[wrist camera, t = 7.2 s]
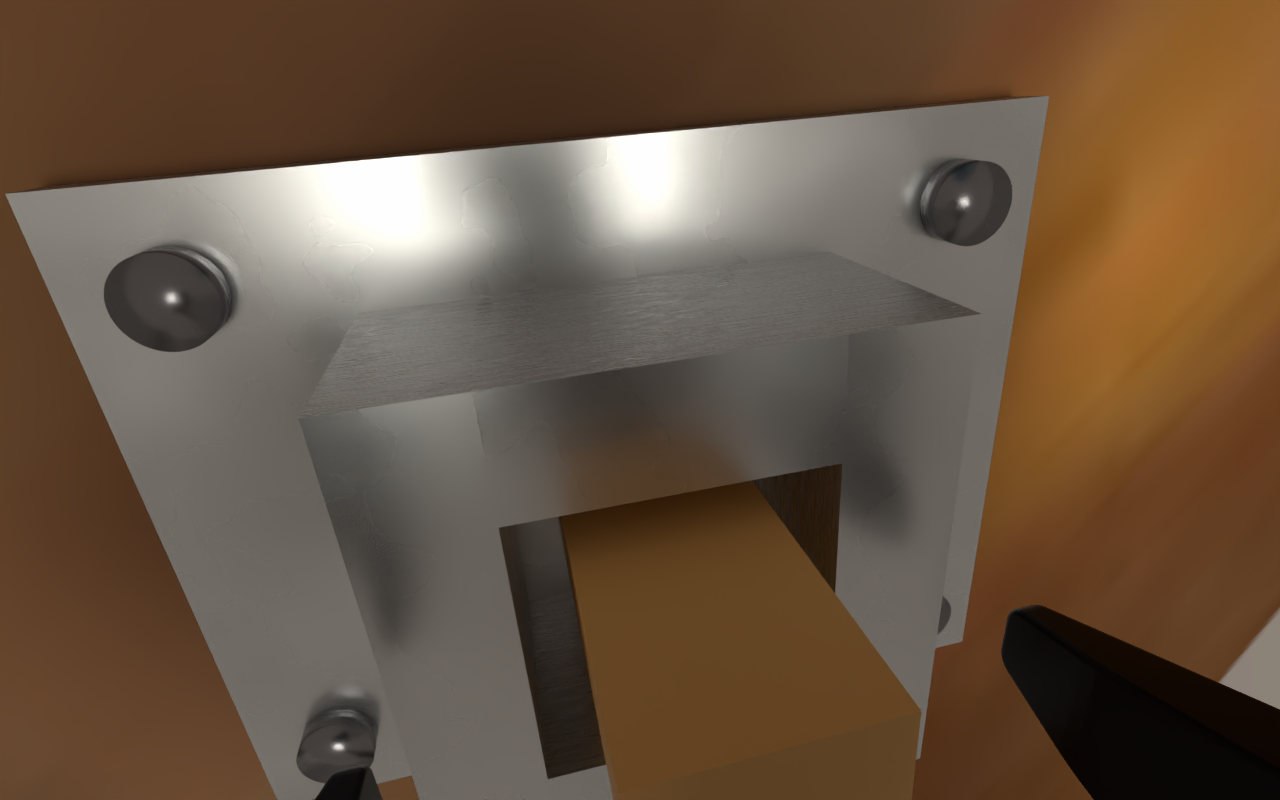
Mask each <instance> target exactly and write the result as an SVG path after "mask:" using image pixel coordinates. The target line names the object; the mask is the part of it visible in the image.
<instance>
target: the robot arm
mask: <svg viewBox="0 0 1280 800" xmlns="http://www.w3.org/2000/svg"><path fill="white" fill-rule="evenodd" d="M1001 653H1002V659H1003V663H1004V665H1005V667H1006V669H1007V671H1008V673H1009V674H1010V676H1011V677H1012V679H1013V680H1014V682H1015V684H1016V685H1017V687H1018V688H1019V690H1020V691H1021V693H1022V694H1023V696H1024V698H1025V699H1026V701H1027V702H1028V704H1029V705H1030V707H1031V709H1032V710H1033V712H1034V713H1035V715H1036V716H1037V718H1038V720H1039V721H1040V723H1041V724H1042V726H1043V727H1044V729H1045V730H1046V732H1047V734H1048V735H1049V737H1050V738H1051V740H1052V741H1053V743H1054V745H1055V746H1056V748H1057V749H1058V751H1059V752H1060V754H1061V755H1062V757H1063V758H1064V760H1065V761H1066V763H1067V764H1068V766H1069V767H1070V769H1071V770H1072V771H1073V773H1074V774H1075V775H1076V777H1077V778H1078V779H1079V781H1080V782H1081V783H1082V785H1083V786H1084V787H1085V789H1086V790H1087V791H1088V793H1089V794H1090V795H1091V797H1092V798H1093V799H1094V800H1280V709H1277V708H1275V707H1273V706H1270V705H1268V704H1266V703H1264V702H1261V701H1259V700H1257V699H1255V698H1252V697H1250V696H1248V695H1245V694H1243V693H1241V692H1238V691H1236V690H1234V689H1232V688H1229V687H1227V686H1225V685H1223V684H1220V683H1218V682H1216V681H1213V680H1211V679H1209V678H1207V677H1204V676H1202V675H1200V674H1197V673H1195V672H1193V671H1191V670H1188V669H1186V668H1184V667H1181V666H1179V665H1177V664H1175V663H1172V662H1170V661H1168V660H1165V659H1163V658H1161V657H1159V656H1156V655H1154V654H1152V653H1149V652H1147V651H1145V650H1143V649H1140V648H1138V647H1136V646H1133V645H1131V644H1129V643H1127V642H1124V641H1122V640H1120V639H1117V638H1115V637H1113V636H1111V635H1108V634H1106V633H1104V632H1101V631H1099V630H1097V629H1095V628H1092V627H1090V626H1088V625H1085V624H1083V623H1081V622H1079V621H1076V620H1074V619H1072V618H1069V617H1067V616H1065V615H1063V614H1060V613H1058V612H1056V611H1053V610H1051V609H1049V608H1047V607H1044V606H1041V605H1030V606H1026V607H1022V608H1018V609H1014V610H1012V611H1011V612H1010V613H1009V615H1008V618H1007V623H1006V629H1005V634H1004V639H1003V644H1002V650H1001ZM315 800H382V797H381V794H380V791H379V788H378V786H377V783H376V780H375V777H374V774H373V772H372V769H371V768H370V767H369V766H368V765H359V766H354V767H350V768H346V769H342V770H339V771H336V772H335V773H333V774H332V775H331V776H330V778H329V779H328V780H327V782H326V783H325V785H324V786H323V788H322V789H321V791H320V792H319V794H318V795H317V797H316V798H315Z"/></svg>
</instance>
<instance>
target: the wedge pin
mask: <svg viewBox="0 0 1280 800" xmlns="http://www.w3.org/2000/svg"><path fill="white" fill-rule="evenodd" d="M559 523H560V528H561V534H562V540H563V546H564V551H565V557H566V563H567V568H568V573H569V578H570V583H571V588H572V593H573V598H574V603H575V608H576V613H577V619H578V624H579V629H580V634H581V639H582V644H583V649H584V654H585V659H586V664H587V669H588V674H589V680H590V685H591V690H592V695H593V700H594V705H595V710H596V715H597V720H598V725H599V730H600V735H601V741H602V746H603V751H604V756H605V761H606V766H607V771H608V776H609V781H610V786H611V791H612V796H613V800H912V792H913V783H914V774H915V765H916V756H917V747H918V738H919V729H920V720H921V710H920V708H919V707H918V706H917V704H916V703H915V702H914V700H913V699H912V697H911V696H910V695H909V693H908V692H907V691H906V689H905V688H904V687H903V685H902V684H901V683H900V681H899V680H898V678H897V677H896V676H895V674H894V673H893V672H892V670H891V669H890V668H889V666H888V665H887V663H886V662H885V661H884V659H883V658H882V657H881V655H880V654H879V653H878V651H877V650H876V649H875V647H874V646H873V644H872V643H871V642H870V640H869V639H868V638H867V636H866V635H865V634H864V632H863V631H862V630H861V628H860V627H859V625H858V624H857V623H856V621H855V620H854V619H853V617H852V616H851V615H850V613H849V612H848V611H847V609H846V608H845V606H844V605H843V604H842V602H841V601H840V600H839V598H838V597H837V596H836V594H835V593H834V591H833V590H832V589H831V587H830V586H829V585H828V583H827V582H826V581H825V579H824V578H823V577H822V575H821V574H820V572H819V571H818V570H817V568H816V567H815V566H814V564H813V563H812V562H811V560H810V559H809V558H808V556H807V555H806V553H805V552H804V551H803V549H802V548H801V547H800V545H799V544H798V543H797V541H796V540H795V538H794V537H793V536H792V534H791V533H790V532H789V530H788V529H787V528H786V526H785V525H784V524H783V522H782V521H781V519H780V518H779V517H778V515H777V514H776V513H775V511H774V510H773V509H772V507H771V506H770V505H769V503H768V502H767V500H766V499H765V498H764V496H763V495H762V494H761V492H760V491H759V490H758V488H757V487H756V486H755V484H754V483H753V481H752V480H751V481H746V482H740V483H735V484H729V485H724V486H719V487H713V488H708V489H703V490H697V491H692V492H687V493H681V494H676V495H671V496H665V497H660V498H655V499H649V500H644V501H639V502H633V503H628V504H623V505H617V506H612V507H607V508H601V509H596V510H591V511H585V512H580V513H575V514H569V515H564V516H559Z"/></svg>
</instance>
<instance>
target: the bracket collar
mask: <svg viewBox="0 0 1280 800" xmlns="http://www.w3.org/2000/svg"><path fill="white" fill-rule="evenodd" d="M1048 101H1049V96H1014V97H1002V98H992V99H981V100H970V101H959V102H949V103H938V104H927V105H916V106H906V107H895V108H884V109H874V110H863V111H852V112H841V113H831V114H820V115H809V116H798V117H788V118H777V119H766V120H756V121H745V122H734V123H723V124H713V125H702V126H691V127H680V128H670V129H659V130H648V131H637V132H627V133H616V134H605V135H595V136H584V137H573V138H562V139H552V140H541V141H530V142H519V143H509V144H498V145H487V146H476V147H466V148H455V149H444V150H434V151H423V152H412V153H401V154H391V155H380V156H369V157H358V158H348V159H337V160H326V161H316V162H305V163H294V164H283V165H273V166H262V167H251V168H240V169H230V170H219V171H208V172H197V173H187V174H176V175H165V176H155V177H144V178H133V179H122V180H112V181H101V182H90V183H79V184H69V185H58V186H47V187H40V188H35V189H29V190H24V191H18V192H13V193H7V194H5V195H6V197H7V199H8V201H9V204H10V206H11V208H12V210H13V212H14V215H15V217H16V219H17V221H18V224H19V226H20V228H21V230H22V232H23V235H24V237H25V239H26V241H27V244H28V246H29V248H30V250H31V252H32V255H33V257H34V259H35V261H36V264H37V266H38V268H39V270H40V273H41V275H42V277H43V279H44V281H45V284H46V286H47V288H48V290H49V293H50V295H51V297H52V299H53V301H54V304H55V306H56V308H57V310H58V313H59V315H60V317H61V319H62V321H63V324H64V326H65V328H66V330H67V333H68V335H69V337H70V339H71V342H72V344H73V346H74V348H75V350H76V353H77V355H78V357H79V359H80V362H81V364H82V366H83V368H84V370H85V373H86V375H87V377H88V379H89V382H90V384H91V386H92V388H93V391H94V393H95V395H96V397H97V399H98V402H99V404H100V406H101V408H102V411H103V413H104V415H105V417H106V419H107V422H108V424H109V426H110V428H111V431H112V433H113V435H114V437H115V439H116V442H117V444H118V446H119V448H120V451H121V453H122V455H123V457H124V460H125V462H126V464H127V466H128V468H129V471H130V473H131V475H132V477H133V480H134V482H135V484H136V486H137V488H138V491H139V493H140V495H141V497H142V500H143V502H144V504H145V506H146V509H147V511H148V513H149V515H150V517H151V520H152V522H153V524H154V526H155V529H156V531H157V533H158V535H159V537H160V540H161V542H162V544H163V546H164V549H165V551H166V553H167V555H168V557H169V560H170V562H171V564H172V566H173V569H174V571H175V573H176V575H177V578H178V580H179V582H180V584H181V586H182V589H183V591H184V593H185V595H186V598H187V600H188V602H189V604H190V606H191V609H192V611H193V613H194V615H195V618H196V620H197V622H198V624H199V627H200V629H201V631H202V633H203V635H204V638H205V640H206V642H207V644H208V647H209V649H210V651H211V653H212V655H213V658H214V660H215V662H216V664H217V667H218V669H219V671H220V673H221V675H222V678H223V680H224V682H225V684H226V687H227V689H228V691H229V693H230V696H231V698H232V700H233V702H234V704H235V707H236V709H237V711H238V713H239V716H240V718H241V720H242V722H243V724H244V727H245V729H246V731H247V733H248V736H249V738H250V740H251V742H252V745H253V747H254V749H255V751H256V753H257V756H258V758H259V760H260V762H261V765H262V767H263V769H264V771H265V773H266V776H267V778H268V780H269V782H270V785H271V787H272V789H273V791H274V793H275V796H276V798H277V800H312V799H315V798H316V797H317V795H318V794H319V792H320V791H321V789H322V788H323V786H324V785H325V783H326V782H327V780H328V779H329V778H330V776H331V775H332V774H333V773H335V772H336V771H339V770H342V769H346V768H350V767H354V766H359V765H368V766H369V767H370V768H371V769H372V772H373V774H374V777H375V780H376V783H377V784H378V783H382V782H386V781H390V780H394V779H399V778H403V777H407V776H411V775H412V777H413V781H414V784H415V787H416V790H417V793H418V796H419V799H420V800H613V796H612V791H611V786H610V781H609V776H608V771H607V766H606V761H605V756H604V751H603V746H602V741H601V735H600V730H599V725H598V720H597V715H596V710H595V705H594V700H593V695H592V690H591V685H590V680H589V674H588V669H587V664H586V659H585V654H584V649H583V644H582V639H581V634H580V629H579V624H578V619H577V613H576V608H575V603H574V598H573V593H572V588H571V583H570V578H569V573H568V568H567V563H566V557H565V551H564V546H563V540H562V534H561V528H560V523H559V516H564V515H569V514H575V513H580V512H585V511H591V510H596V509H601V508H607V507H612V506H617V505H623V504H628V503H633V502H639V501H644V500H649V499H655V498H660V497H665V496H671V495H676V494H681V493H687V492H692V491H697V490H703V489H708V488H713V487H719V486H724V485H729V484H735V483H740V482H746V481H751V480H752V481H753V483H754V484H755V486H756V487H757V488H758V490H759V491H760V492H761V494H762V495H763V496H764V498H765V499H766V500H767V502H768V503H769V505H770V506H771V507H772V509H773V510H774V511H775V513H776V514H777V515H778V517H779V518H780V519H781V521H782V522H783V524H784V525H785V526H786V528H787V529H788V530H789V532H790V533H791V534H792V536H793V537H794V538H795V540H796V541H797V543H798V544H799V545H800V547H801V548H802V549H803V551H804V552H805V553H806V555H807V556H808V558H809V559H810V560H811V562H812V563H813V564H814V566H815V567H816V568H817V570H818V571H819V572H820V574H821V575H822V577H823V578H824V579H825V581H826V582H827V583H828V585H829V586H830V587H831V589H832V590H833V591H834V593H835V594H836V596H837V597H838V598H839V600H840V601H841V602H842V604H843V605H844V606H845V608H846V609H847V611H848V612H849V613H850V615H851V616H852V617H853V619H854V620H855V621H856V623H857V624H858V625H859V627H860V628H861V630H862V631H863V632H864V634H865V635H866V636H867V638H868V639H869V640H870V642H871V643H872V644H873V646H874V647H875V649H876V650H877V651H878V653H879V654H880V655H881V657H882V658H883V659H884V661H885V662H886V663H887V665H888V666H889V668H890V669H891V670H892V672H893V673H894V674H895V676H896V677H897V678H898V680H899V681H900V683H901V684H902V685H903V687H904V688H905V689H906V691H907V692H908V693H909V695H910V696H911V697H912V699H913V700H914V702H915V703H916V704H917V706H918V707H919V708H920V710H921V720H920V729H919V738H918V747H917V756H916V759H920V755H921V748H922V741H923V733H924V726H925V719H926V712H927V705H928V697H929V690H930V683H931V676H932V669H933V661H934V654H935V648H938V647H942V646H946V645H950V644H954V643H958V642H962V639H963V633H964V627H965V620H966V614H967V608H968V601H969V595H970V589H971V583H972V576H973V570H974V564H975V558H976V551H977V545H978V539H979V533H980V526H981V520H982V514H983V508H984V501H985V495H986V489H987V483H988V476H989V470H990V464H991V457H992V451H993V445H994V439H995V432H996V426H997V420H998V414H999V407H1000V401H1001V395H1002V389H1003V382H1004V376H1005V370H1006V364H1007V357H1008V351H1009V345H1010V339H1011V332H1012V326H1013V320H1014V313H1015V307H1016V301H1017V295H1018V288H1019V282H1020V276H1021V270H1022V263H1023V257H1024V251H1025V245H1026V238H1027V232H1028V226H1029V220H1030V213H1031V207H1032V201H1033V195H1034V188H1035V182H1036V176H1037V169H1038V163H1039V157H1040V151H1041V144H1042V138H1043V132H1044V126H1045V119H1046V113H1047V107H1048Z"/></svg>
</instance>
